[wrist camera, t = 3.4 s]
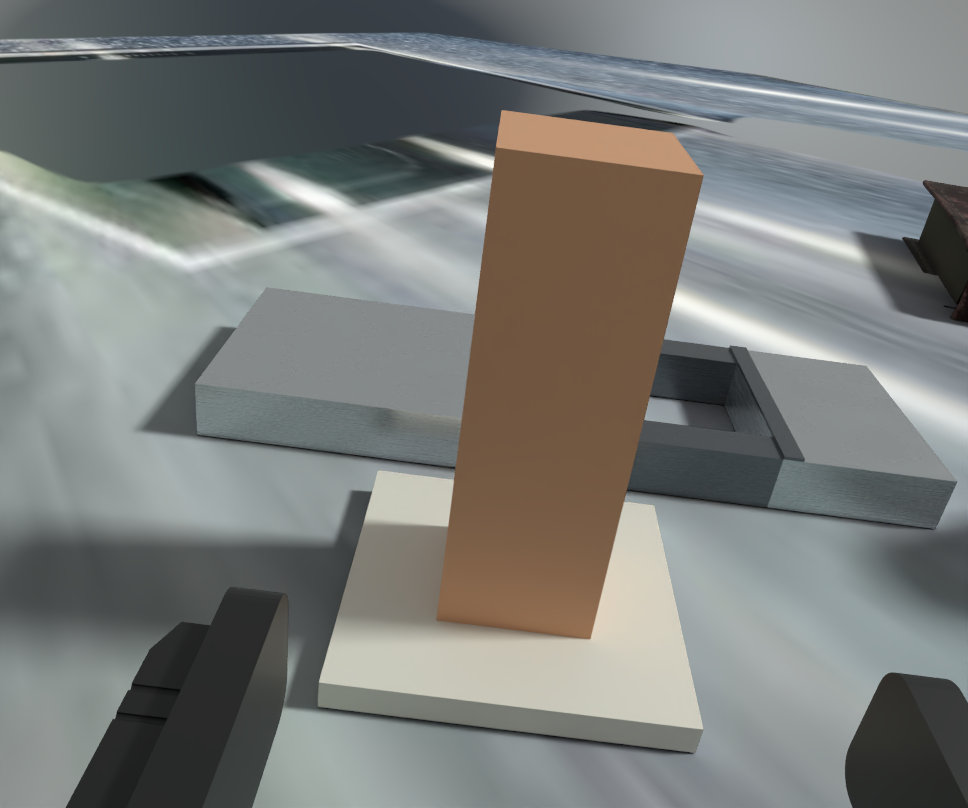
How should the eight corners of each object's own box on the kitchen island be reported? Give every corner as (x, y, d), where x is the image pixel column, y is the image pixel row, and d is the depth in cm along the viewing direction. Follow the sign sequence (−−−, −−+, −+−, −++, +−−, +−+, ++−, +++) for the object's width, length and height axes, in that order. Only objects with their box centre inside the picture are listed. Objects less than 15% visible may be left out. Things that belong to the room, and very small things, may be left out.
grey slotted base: (197, 434, 30) (194, 380, 29) (266, 330, 38) (266, 284, 37) (935, 528, 30) (958, 478, 29) (851, 406, 38) (867, 363, 37)
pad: (317, 706, 20) (318, 682, 20) (376, 490, 28) (378, 470, 28) (695, 752, 20) (703, 729, 20) (648, 525, 28) (654, 505, 28)
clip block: (436, 620, 22) (496, 147, 16) (449, 526, 26) (501, 110, 20) (590, 639, 22) (703, 175, 16) (581, 543, 26) (672, 133, 20)
